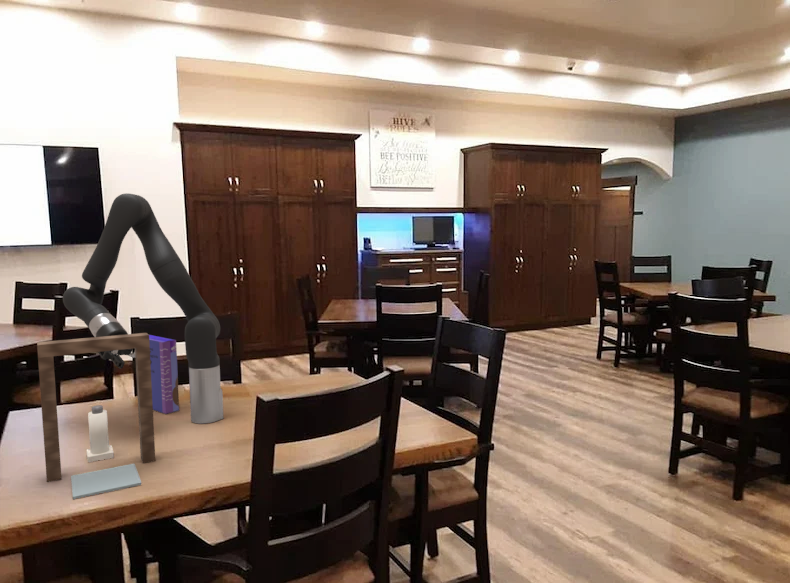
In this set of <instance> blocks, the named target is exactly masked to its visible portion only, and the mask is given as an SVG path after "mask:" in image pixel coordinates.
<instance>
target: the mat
mask: <svg viewBox="0 0 790 583" xmlns="http://www.w3.org/2000/svg"><path fill="white" fill-rule="evenodd" d="M70 481H71V482H70V483H71V491H72V492H71V494H72V500H77V499H76V498H78V499H82V498H81V497H83V498H86V497H85V496H88V497H91V496H90V495H92V496H96V495H95V494H97V495H100V494H99V493H102V494H105V493H104V492H106V493H109V492H110V493H111V492H115V490H116V491H120V490H125V489H130V488H134V487H138V485H139V486H142V485H141V484H142V480H141V477H140V474H139V472H138V469H137V467H136V464H135V463H129V464H124V465H119V466H115V467H109V468H104V469H99V470H93V471H90V472H83V473H78V474H73V475H72V474H71V476H70ZM129 487H130V488H129Z"/></svg>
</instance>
